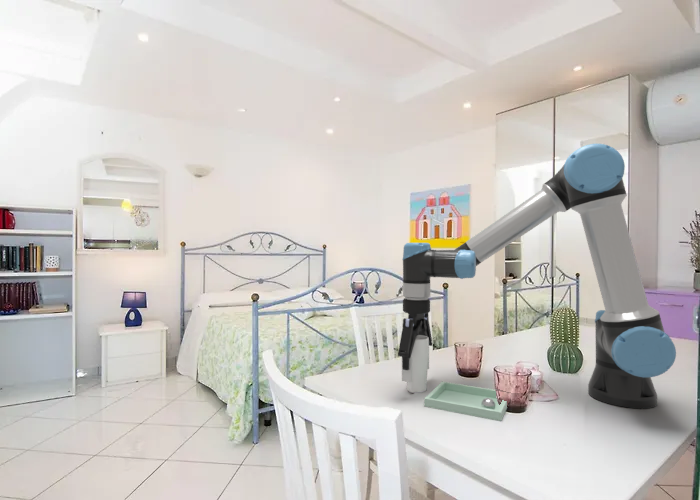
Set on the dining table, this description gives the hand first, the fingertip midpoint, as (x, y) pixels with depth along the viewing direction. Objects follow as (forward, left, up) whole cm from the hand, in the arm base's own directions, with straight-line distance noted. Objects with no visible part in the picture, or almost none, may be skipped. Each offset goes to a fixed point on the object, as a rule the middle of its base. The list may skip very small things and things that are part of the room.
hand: (416, 374), depth 113 cm
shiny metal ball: (-21, +7, -4) cm, 22 cm away
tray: (-15, +3, -5) cm, 16 cm away
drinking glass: (0, 0, -5) cm, 5 cm away
